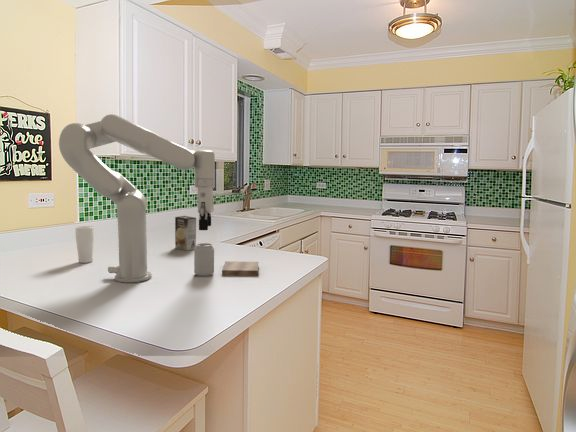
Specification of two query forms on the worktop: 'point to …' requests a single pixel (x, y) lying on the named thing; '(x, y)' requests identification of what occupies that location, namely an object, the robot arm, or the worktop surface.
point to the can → (204, 259)
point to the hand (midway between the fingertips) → (205, 227)
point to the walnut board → (240, 268)
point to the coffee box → (185, 232)
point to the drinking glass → (85, 243)
